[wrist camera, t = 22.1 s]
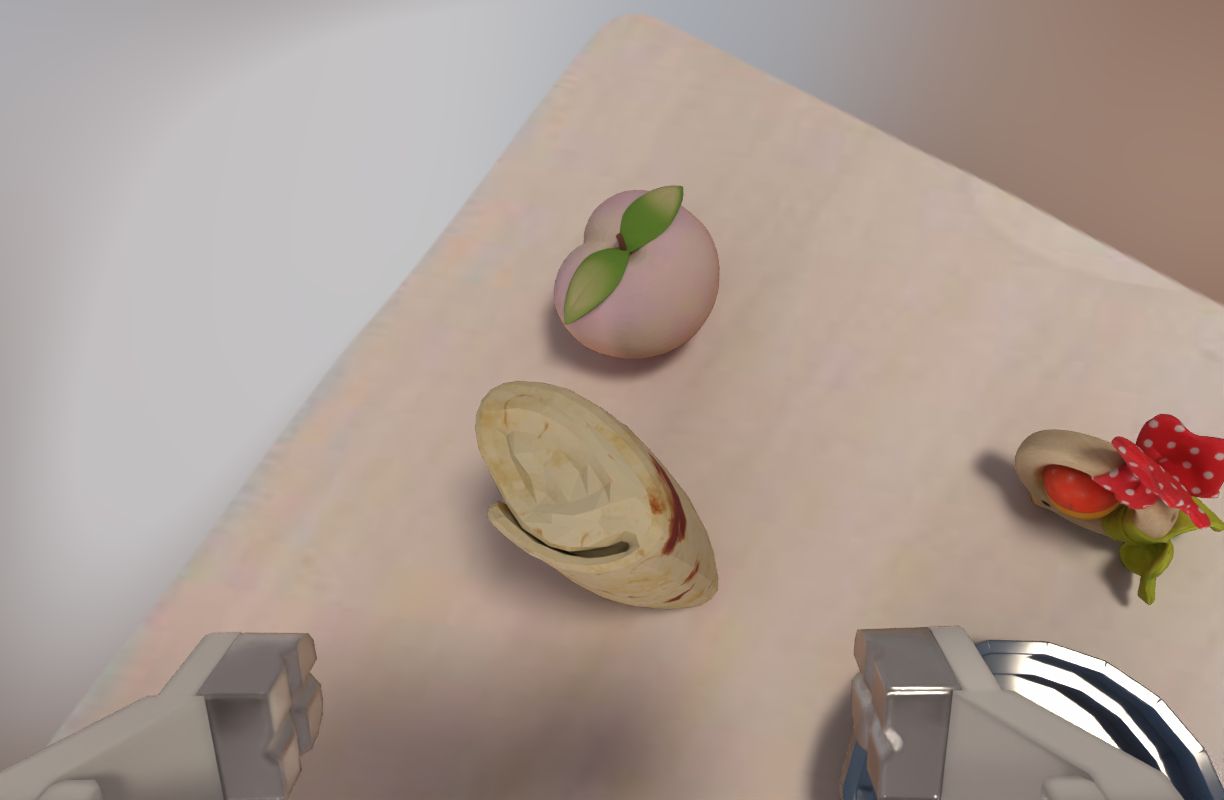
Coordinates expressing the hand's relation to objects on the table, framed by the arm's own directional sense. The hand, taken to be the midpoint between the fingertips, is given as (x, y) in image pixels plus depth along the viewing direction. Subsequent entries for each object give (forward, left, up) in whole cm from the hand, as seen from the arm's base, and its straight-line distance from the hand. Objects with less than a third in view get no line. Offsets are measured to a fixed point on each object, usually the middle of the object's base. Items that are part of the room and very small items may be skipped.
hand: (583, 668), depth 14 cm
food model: (+5, +7, -37) cm, 38 cm away
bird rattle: (+13, -14, -37) cm, 41 cm away
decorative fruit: (+18, +11, -37) cm, 42 cm away
